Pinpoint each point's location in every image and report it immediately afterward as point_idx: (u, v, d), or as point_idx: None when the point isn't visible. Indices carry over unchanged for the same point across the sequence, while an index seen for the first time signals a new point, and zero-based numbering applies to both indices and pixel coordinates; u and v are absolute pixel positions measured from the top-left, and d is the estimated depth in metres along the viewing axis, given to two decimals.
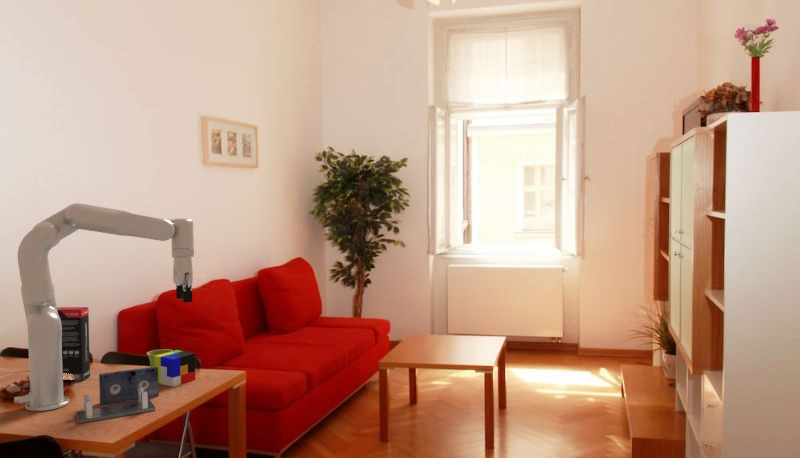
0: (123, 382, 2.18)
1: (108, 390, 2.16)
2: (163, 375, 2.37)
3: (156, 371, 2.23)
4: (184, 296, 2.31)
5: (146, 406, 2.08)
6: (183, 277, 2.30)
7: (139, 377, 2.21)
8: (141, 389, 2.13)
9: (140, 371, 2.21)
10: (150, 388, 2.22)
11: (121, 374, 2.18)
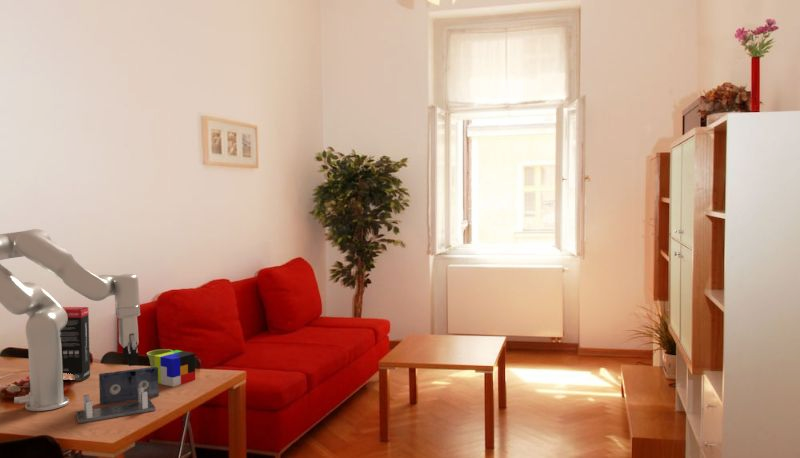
0: (123, 382, 2.18)
1: (108, 390, 2.16)
2: (163, 375, 2.37)
3: (156, 371, 2.23)
4: (129, 359, 2.15)
5: (146, 406, 2.08)
6: (128, 339, 2.14)
7: (139, 377, 2.21)
8: (141, 389, 2.13)
9: (140, 371, 2.21)
10: (150, 388, 2.22)
11: (121, 374, 2.18)
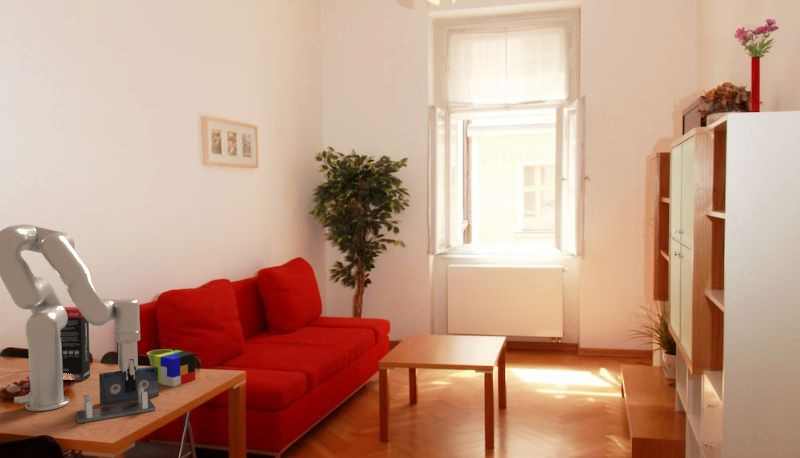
0: (123, 382, 2.18)
1: (108, 390, 2.16)
2: (163, 375, 2.37)
3: (156, 371, 2.23)
4: (126, 386, 2.18)
5: (146, 406, 2.08)
6: (127, 364, 2.15)
7: (139, 376, 2.21)
8: (141, 389, 2.13)
9: (140, 371, 2.21)
10: (150, 388, 2.22)
11: (121, 373, 2.17)
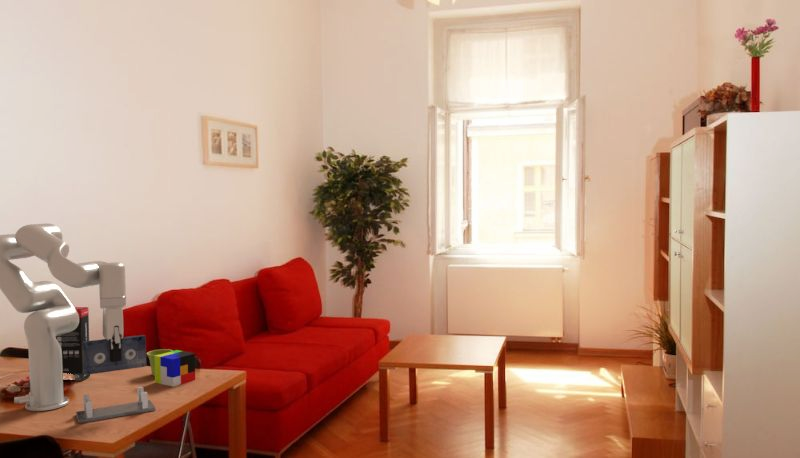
0: (108, 351, 2.04)
1: (92, 359, 2.02)
2: (163, 375, 2.37)
3: (144, 339, 2.10)
4: (111, 355, 2.04)
5: (146, 406, 2.08)
6: (112, 331, 2.01)
7: (126, 345, 2.07)
8: (141, 389, 2.13)
9: (126, 339, 2.07)
10: (137, 357, 2.09)
11: (106, 342, 2.04)
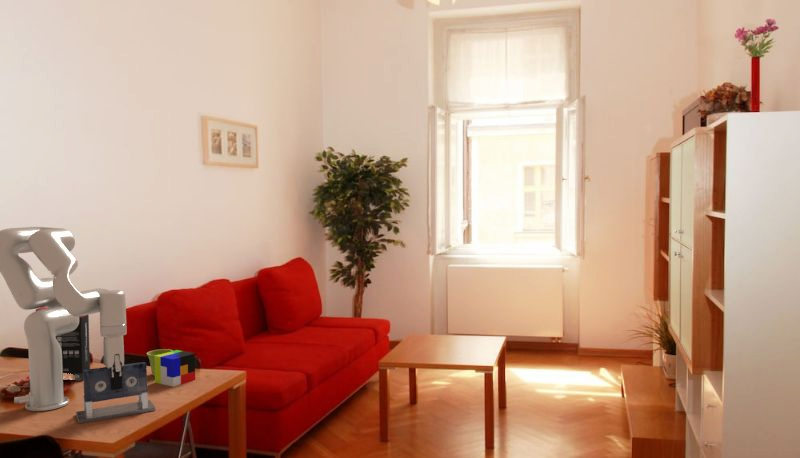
0: (109, 379, 2.04)
1: (93, 387, 2.02)
2: (163, 375, 2.37)
3: (144, 367, 2.10)
4: (112, 383, 2.04)
5: (146, 406, 2.08)
6: (112, 359, 2.01)
7: (126, 373, 2.07)
8: None
9: (127, 367, 2.07)
10: (138, 385, 2.09)
11: (107, 370, 2.04)
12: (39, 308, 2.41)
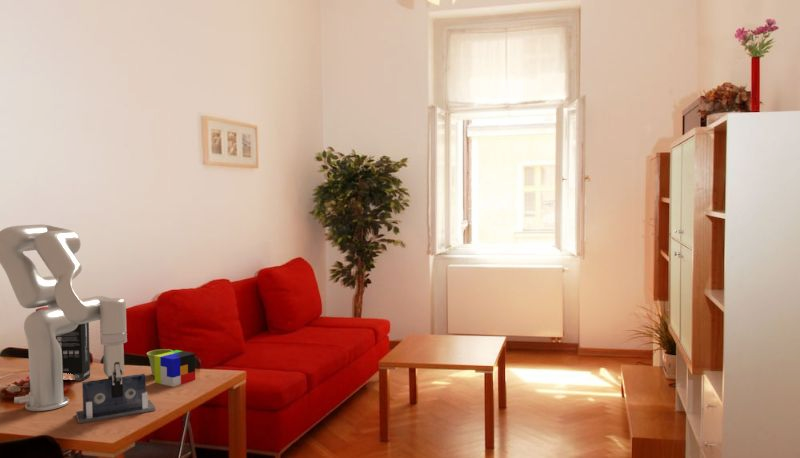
0: (108, 391, 2.05)
1: (92, 399, 2.02)
2: (163, 375, 2.37)
3: (143, 379, 2.10)
4: (113, 391, 2.03)
5: (146, 406, 2.08)
6: (112, 367, 2.01)
7: (125, 385, 2.07)
8: None
9: (126, 379, 2.07)
10: (137, 397, 2.09)
11: (106, 382, 2.04)
12: (39, 308, 2.41)
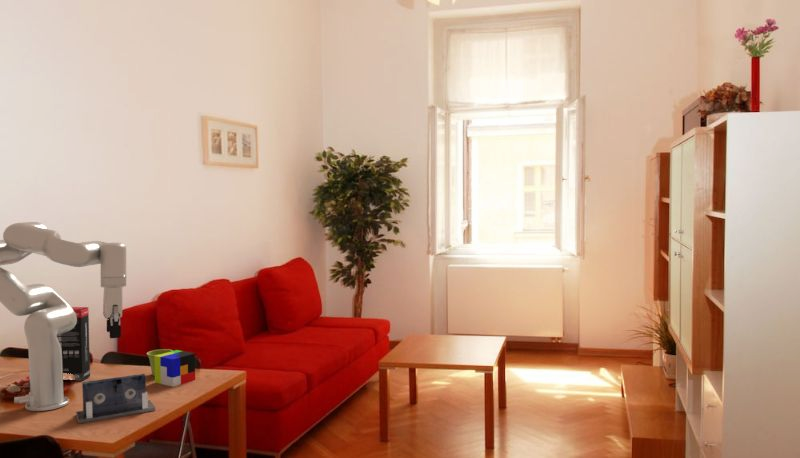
0: (108, 391, 2.05)
1: (92, 399, 2.02)
2: (163, 375, 2.37)
3: (143, 379, 2.10)
4: (111, 331, 2.05)
5: (146, 406, 2.08)
6: (110, 310, 2.04)
7: (126, 385, 2.07)
8: None
9: (126, 379, 2.07)
10: (137, 397, 2.09)
11: (106, 382, 2.04)
12: None
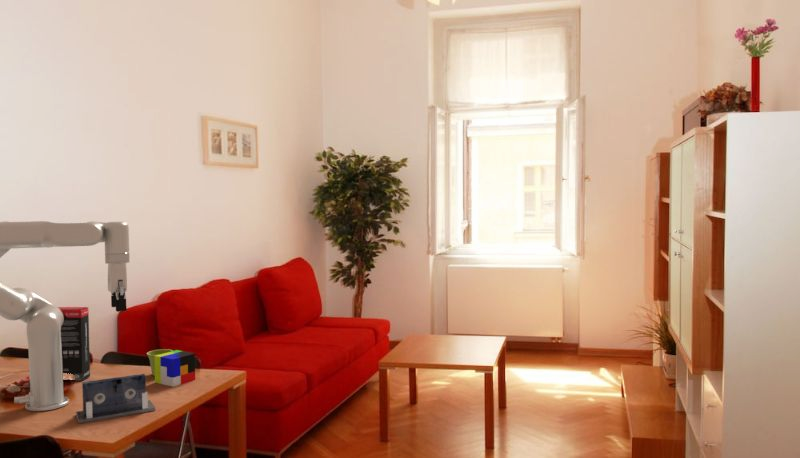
0: (108, 391, 2.05)
1: (92, 399, 2.02)
2: (163, 375, 2.37)
3: (143, 379, 2.10)
4: (117, 305, 2.16)
5: (146, 406, 2.08)
6: (116, 284, 2.16)
7: (126, 385, 2.07)
8: None
9: (126, 379, 2.07)
10: (137, 397, 2.09)
11: (106, 382, 2.04)
12: None
